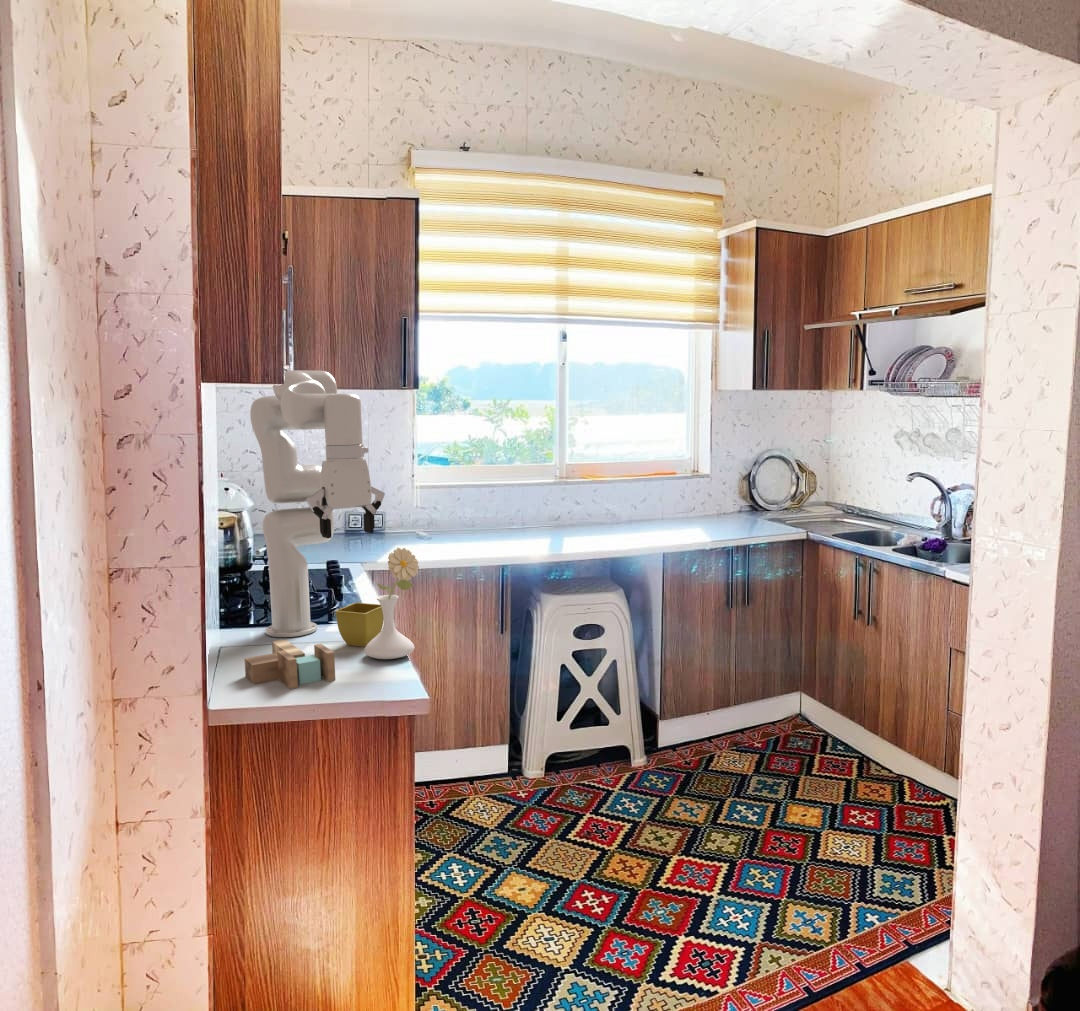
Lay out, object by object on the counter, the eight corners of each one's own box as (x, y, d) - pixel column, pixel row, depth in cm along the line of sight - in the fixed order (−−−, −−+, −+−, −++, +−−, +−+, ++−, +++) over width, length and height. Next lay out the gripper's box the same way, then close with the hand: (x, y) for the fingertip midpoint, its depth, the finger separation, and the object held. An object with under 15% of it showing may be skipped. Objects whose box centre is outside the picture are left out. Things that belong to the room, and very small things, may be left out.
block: (292, 679, 181) (291, 658, 180) (313, 675, 183) (312, 654, 183) (299, 684, 177) (298, 663, 177) (321, 680, 180) (319, 659, 179)
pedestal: (245, 676, 183) (244, 658, 182) (273, 671, 186) (272, 653, 186) (253, 683, 178) (252, 665, 178) (282, 678, 181) (281, 659, 181)
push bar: (272, 660, 195) (271, 641, 195) (286, 658, 197) (284, 639, 196) (292, 676, 184) (291, 655, 183) (305, 673, 185) (304, 653, 185)
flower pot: (367, 650, 201) (365, 613, 200) (335, 647, 205) (334, 610, 203) (387, 640, 209) (385, 604, 208) (356, 637, 213) (355, 602, 212)
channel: (278, 679, 181) (277, 651, 180) (322, 670, 186) (320, 643, 185) (290, 688, 174) (289, 660, 174) (335, 679, 180) (334, 652, 179)
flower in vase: (370, 666, 189) (365, 554, 186) (360, 652, 199) (355, 547, 196) (427, 658, 194) (423, 549, 191) (415, 646, 204) (411, 542, 201)
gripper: (373, 451, 186) (376, 529, 188) (297, 455, 175) (301, 537, 177) (390, 452, 180) (393, 532, 182) (312, 456, 170) (317, 541, 172)
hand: (348, 535), depth 180 cm, fingers open, 9 cm apart
